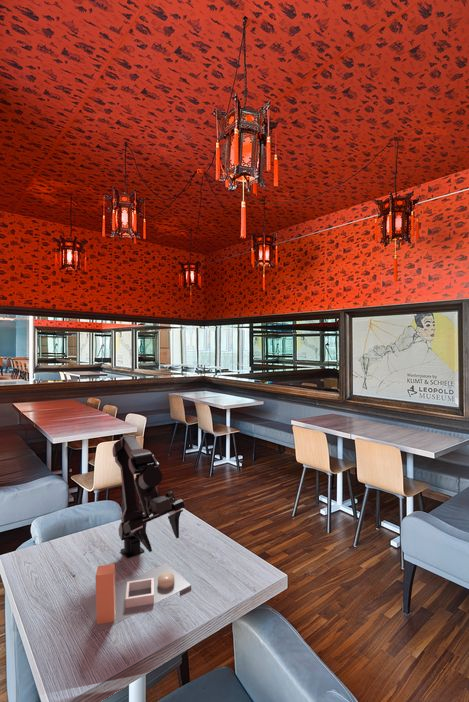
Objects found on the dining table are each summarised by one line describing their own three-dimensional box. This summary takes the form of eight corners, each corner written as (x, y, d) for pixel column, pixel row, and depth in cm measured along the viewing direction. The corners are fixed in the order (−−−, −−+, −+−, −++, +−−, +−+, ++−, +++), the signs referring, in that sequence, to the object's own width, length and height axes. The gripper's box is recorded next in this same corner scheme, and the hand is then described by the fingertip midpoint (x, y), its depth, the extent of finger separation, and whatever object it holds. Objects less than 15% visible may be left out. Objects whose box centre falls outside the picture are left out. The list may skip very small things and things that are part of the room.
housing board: (80, 604, 107) (80, 592, 107) (166, 565, 125) (166, 555, 125) (99, 636, 95) (98, 622, 95) (191, 588, 113) (190, 577, 113)
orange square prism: (99, 612, 102) (97, 566, 102) (115, 609, 103) (114, 563, 103) (96, 624, 98) (95, 575, 98) (114, 621, 99) (113, 573, 99)
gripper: (129, 497, 103) (146, 555, 98) (184, 476, 116) (203, 527, 111) (115, 506, 111) (131, 560, 106) (169, 485, 123) (186, 533, 118)
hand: (164, 544), depth 110 cm, fingers open, 9 cm apart
